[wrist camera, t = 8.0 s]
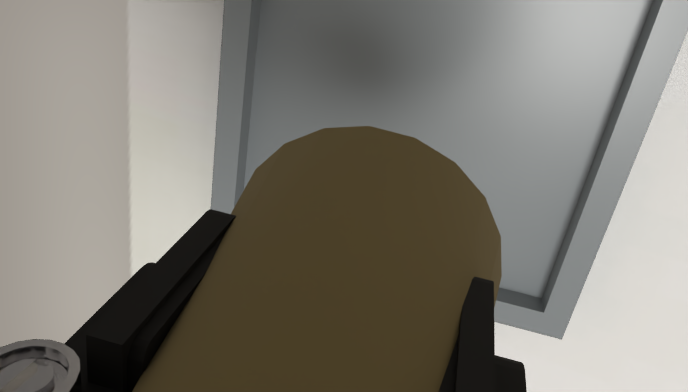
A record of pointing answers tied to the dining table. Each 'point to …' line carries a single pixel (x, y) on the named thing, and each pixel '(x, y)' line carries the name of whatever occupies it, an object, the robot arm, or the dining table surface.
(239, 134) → the slate tray
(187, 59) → the dining table surface
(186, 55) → the dining table surface
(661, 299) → the dining table surface
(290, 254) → the brown pawn
